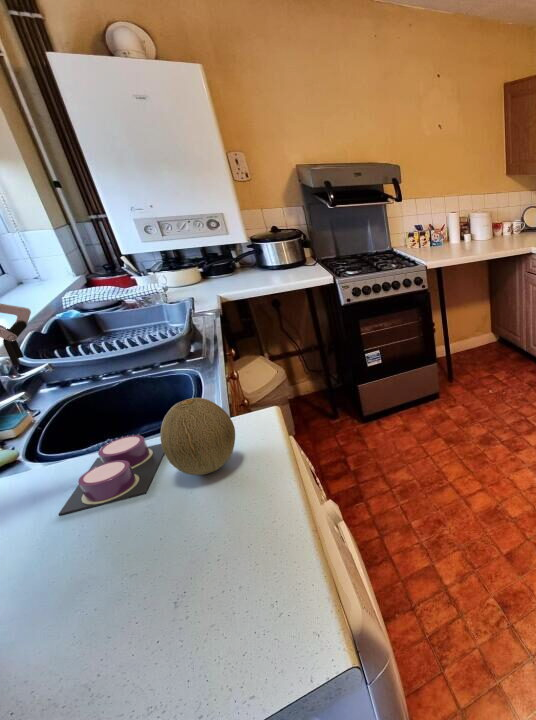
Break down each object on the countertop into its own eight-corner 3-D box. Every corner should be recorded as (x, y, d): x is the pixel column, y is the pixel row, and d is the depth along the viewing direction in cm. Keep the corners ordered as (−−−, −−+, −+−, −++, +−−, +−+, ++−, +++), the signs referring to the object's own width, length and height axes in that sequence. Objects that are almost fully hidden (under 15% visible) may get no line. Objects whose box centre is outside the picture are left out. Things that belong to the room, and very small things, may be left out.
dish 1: (98, 475, 83) (91, 460, 81) (112, 455, 89) (105, 440, 87) (144, 465, 85) (138, 449, 84) (154, 445, 91) (148, 431, 90)
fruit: (255, 450, 90) (236, 386, 84) (218, 488, 79) (194, 417, 74) (201, 450, 90) (179, 386, 85) (158, 487, 80) (130, 417, 74)
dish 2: (78, 506, 75) (70, 490, 74) (94, 482, 81) (87, 466, 80) (129, 494, 78) (122, 477, 76) (141, 471, 84) (134, 455, 82)
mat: (59, 515, 74) (57, 513, 74) (97, 459, 88) (96, 457, 88) (146, 493, 78) (145, 491, 78) (169, 443, 93) (168, 441, 93)
